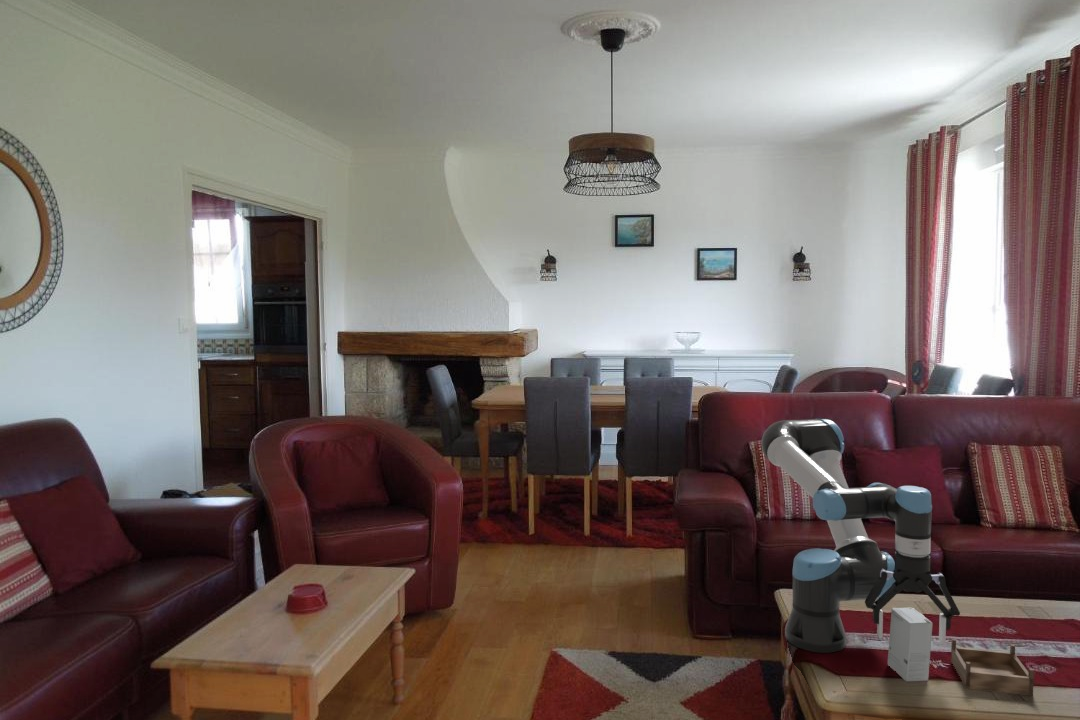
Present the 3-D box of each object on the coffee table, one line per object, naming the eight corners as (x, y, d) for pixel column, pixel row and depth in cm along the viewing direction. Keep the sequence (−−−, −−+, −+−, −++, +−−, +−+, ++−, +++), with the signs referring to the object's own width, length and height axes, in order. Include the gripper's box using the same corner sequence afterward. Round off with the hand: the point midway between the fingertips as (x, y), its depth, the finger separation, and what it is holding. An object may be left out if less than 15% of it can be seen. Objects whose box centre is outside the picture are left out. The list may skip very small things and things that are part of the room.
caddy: (965, 688, 170) (966, 663, 170) (950, 661, 182) (951, 638, 182) (1032, 695, 166) (1034, 670, 166) (1013, 668, 179) (1014, 644, 178)
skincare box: (886, 665, 181) (888, 607, 180) (910, 663, 182) (911, 605, 180) (907, 683, 173) (909, 622, 171) (931, 681, 173) (933, 620, 172)
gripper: (858, 553, 174) (856, 640, 176) (976, 561, 168) (973, 652, 169) (853, 543, 181) (852, 627, 183) (966, 551, 175) (964, 637, 176)
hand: (910, 639), depth 176 cm, fingers open, 13 cm apart
